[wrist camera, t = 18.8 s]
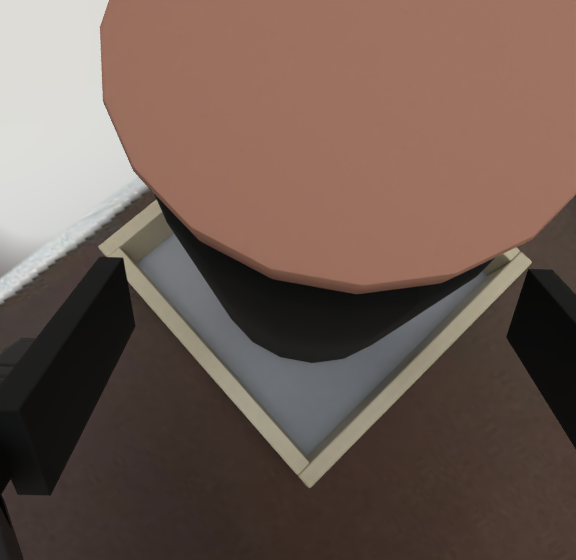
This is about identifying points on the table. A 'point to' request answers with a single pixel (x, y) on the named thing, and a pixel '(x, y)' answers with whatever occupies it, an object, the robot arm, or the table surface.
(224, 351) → the shallow square crate
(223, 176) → the coffee jar
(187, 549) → the table surface
